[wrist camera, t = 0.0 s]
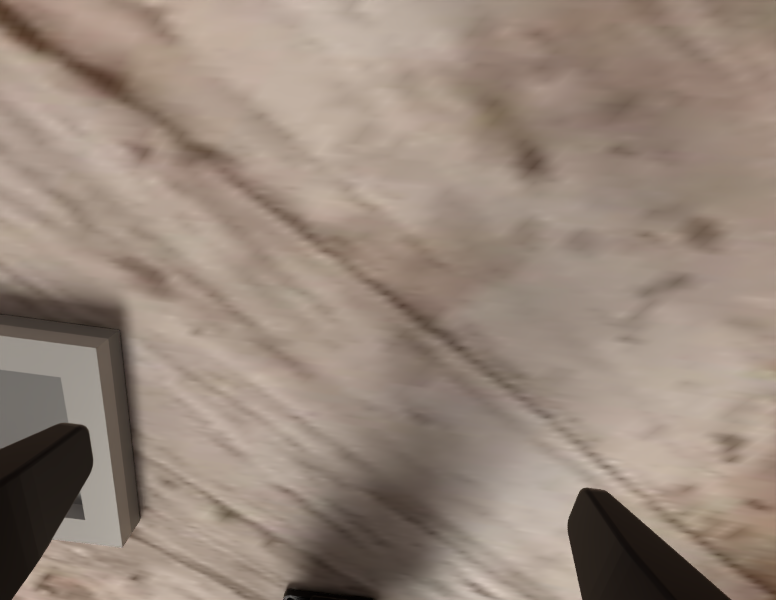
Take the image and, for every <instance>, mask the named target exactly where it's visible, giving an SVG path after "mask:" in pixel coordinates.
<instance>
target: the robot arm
mask: <svg viewBox="0 0 776 600" xmlns="http://www.w3.org/2000/svg"><path fill="white" fill-rule="evenodd" d="M92 468H93V453H92V447H91V440H90V434H89V430H88V428H87V427H86V426H84V425H81V424H73V423H59V424H56V425H54V426H51V427H49V428H47V429H45V430H42V431H40V432H38V433H35V434H33V435H31V436H29V437H26V438H24V439H22V440H19V441H17V442H15V443H13V444H10V445H8V446H6V447H4V448H1V449H0V600H12V598H13V597H14V596H15V594H16V593H17V591H18V590H19V588H20V587H21V586H22V584H23V583H24V581H25V580H26V579H27V577H28V576H29V574H30V573H31V572H32V570H33V569H34V567H35V566H36V564H37V563H38V561H39V560H40V558H41V557H42V555H43V553H44V552H45V550H46V549H47V547H48V545H49V544H50V542H51V540H52V539H53V537H54V535H55V534H56V532H57V530H58V528H59V527H60V525H61V523H62V522H63V520H64V518H65V516H66V515H67V513H68V511H69V510H70V508H71V506H72V504H73V503H74V501H75V499H76V498H77V496H78V494H79V492H80V491H81V489H82V487H83V486H84V484H85V482H86V480H87V479H88V477H89V475H90V473H91V471H92ZM568 535H569V540H570V545H571V549H572V554H573V558H574V563H575V568H576V572H577V577H578V582H579V586H580V591H581V596H582V600H731V599H730V598H729V597H728V596H727V595H725V594H724V593H723V592H722V591H721V590H720V589H718V588H717V587H716V586H715V585H714V584H713V583H712V582H710V581H709V580H708V579H707V578H706V577H705V576H704V575H702V574H701V573H700V572H699V571H698V570H697V569H696V568H694V567H693V566H692V565H691V564H690V563H689V562H688V561H686V560H685V559H684V558H683V557H682V556H681V555H680V554H678V553H677V552H676V551H675V550H674V549H673V548H671V547H670V546H669V545H668V544H667V543H666V542H665V541H663V540H662V539H661V538H660V537H659V536H658V535H657V534H655V533H654V532H653V531H652V530H651V529H650V528H649V527H647V526H646V525H645V524H644V523H643V522H642V521H641V520H639V519H638V518H637V517H636V516H635V515H634V514H633V513H631V512H630V511H629V510H628V509H627V508H626V507H624V506H623V505H622V504H621V503H620V502H619V501H618V500H616V499H615V498H614V497H613V496H612V495H611V494H609V493H608V492H607V491H605V490H601V489H593V488H583V489H582V490H580V492H579V494H578V496H577V499H576V501H575V504H574V506H573V509H572V511H571V514H570V516H569V519H568ZM283 600H373V599H367V598H359V597H350V596H341V595H333V594H324V593H316V592H307V591H298V590H287V591H286V592H285V593H284V597H283Z"/></svg>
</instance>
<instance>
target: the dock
mask: <svg viewBox="0 0 776 600" xmlns="http://www.w3.org/2000/svg"><path fill="white" fill-rule="evenodd" d="M59 423H73V424H81V425H84V426H86V427H87V428H88V430H89V434H90V440H91V447H92V453H93V468H92V471H91V473H90V475H89V477H88V479H87V480H86V482H85V484H84V486H83V487H82V489H81V491H80V492H79V494H78V496H77V498H76V499H75V501H74V503H73V504H72V506H71V508H70V510H69V511H68V513H67V515H66V516H65V518H64V520H63V522H62V523H61V525H60V527H59V528H58V530H57V532H56V534H55V535H54V537H53V540H61V541H70V542H78V543H87V544H95V545H103V546H112V547H120V548H123V546H124V544H125V543H126V541H127V540H128V538H129V537H130V535H131V533H132V532H133V530H134V529H135V527H136V526H137V524H138V523H139V521H140V516H139V506H138V497H137V488H136V478H135V469H134V460H133V450H132V441H131V432H130V422H129V413H128V404H127V394H126V385H125V376H124V366H123V357H122V348H121V338H120V330H116V329H108V328H101V327H93V326H85V325H78V324H70V323H63V322H55V321H48V320H40V319H32V318H25V317H17V316H10V315H2V314H0V449H1V448H4V447H6V446H8V445H10V444H13V443H15V442H17V441H19V440H22V439H24V438H26V437H29V436H31V435H33V434H35V433H38V432H40V431H42V430H45V429H47V428H49V427H51V426H54V425H56V424H59Z"/></svg>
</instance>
